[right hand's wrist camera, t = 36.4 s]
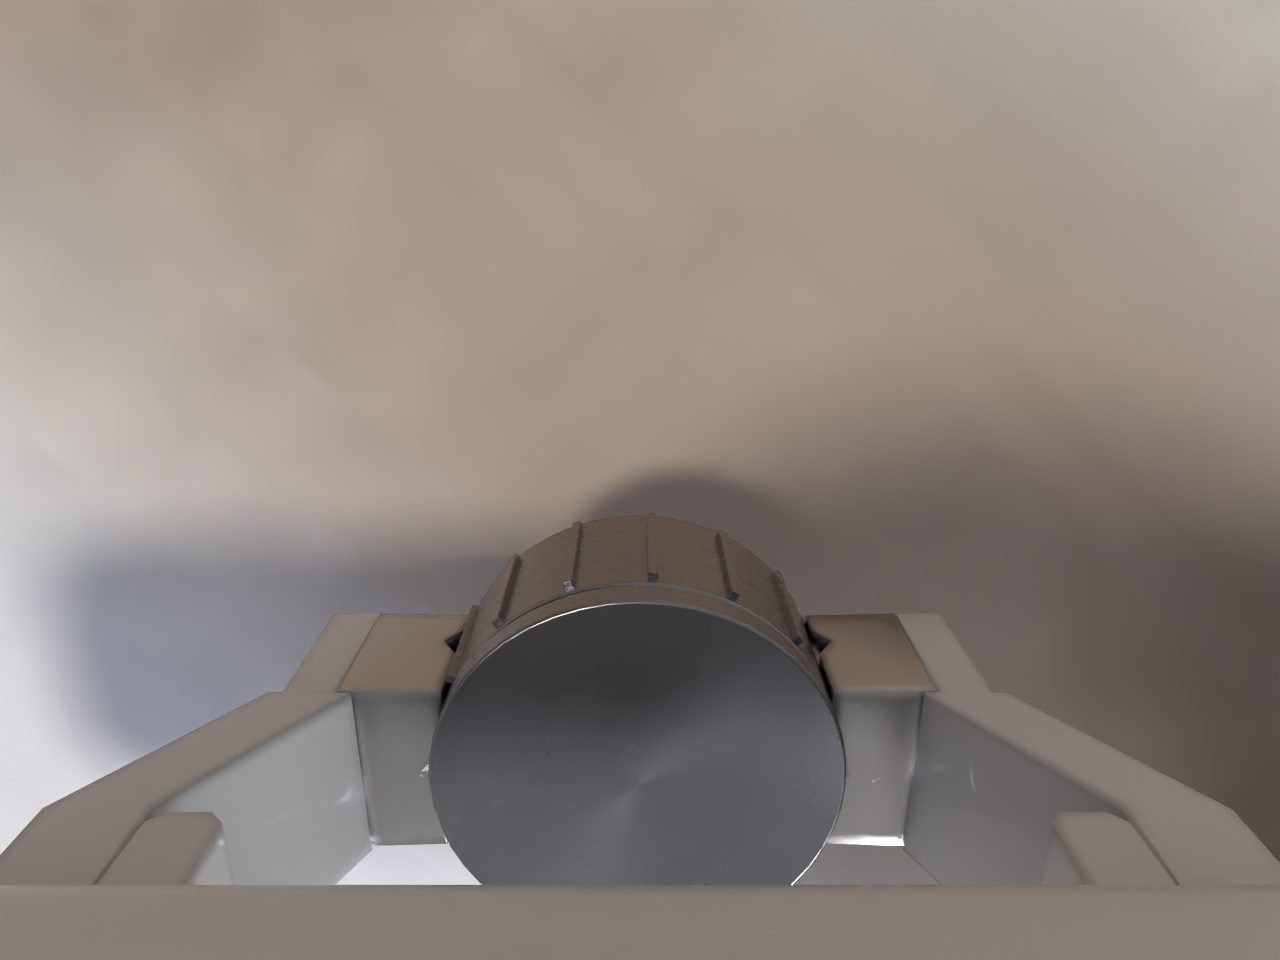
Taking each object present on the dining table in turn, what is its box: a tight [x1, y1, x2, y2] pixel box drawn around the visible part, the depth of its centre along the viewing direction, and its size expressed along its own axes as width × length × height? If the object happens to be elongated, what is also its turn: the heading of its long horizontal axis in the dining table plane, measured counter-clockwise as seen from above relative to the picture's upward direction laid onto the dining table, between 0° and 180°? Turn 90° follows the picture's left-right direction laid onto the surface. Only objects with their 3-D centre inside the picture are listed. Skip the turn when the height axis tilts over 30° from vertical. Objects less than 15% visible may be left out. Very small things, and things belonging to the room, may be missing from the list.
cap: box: [429, 513, 846, 885], centre depth 9 cm, size 4×4×2 cm
